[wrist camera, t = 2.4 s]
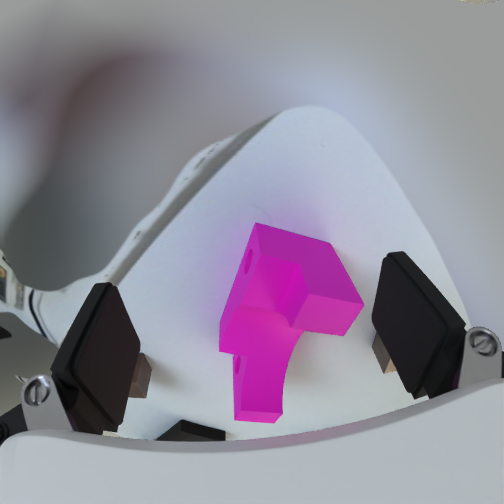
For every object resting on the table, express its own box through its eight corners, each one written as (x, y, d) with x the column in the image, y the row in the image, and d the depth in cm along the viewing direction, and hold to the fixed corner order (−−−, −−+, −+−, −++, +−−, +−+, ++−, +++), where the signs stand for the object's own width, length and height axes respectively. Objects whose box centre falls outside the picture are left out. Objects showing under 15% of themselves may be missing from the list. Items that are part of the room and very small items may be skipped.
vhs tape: (225, 431, 38) (226, 442, 37) (188, 453, 44) (187, 462, 42) (181, 419, 36) (180, 430, 34) (150, 443, 42) (149, 452, 40)
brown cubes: (119, 352, 28) (110, 381, 25) (400, 324, 28) (415, 350, 25) (128, 369, 30) (121, 396, 26) (394, 342, 30) (406, 367, 26)
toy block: (255, 222, 21) (265, 284, 15) (330, 243, 23) (364, 304, 16) (209, 353, 28) (206, 416, 22) (266, 362, 30) (274, 423, 23)
